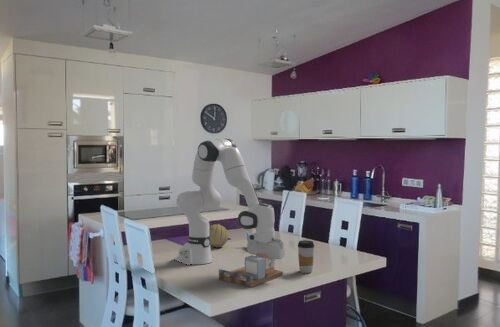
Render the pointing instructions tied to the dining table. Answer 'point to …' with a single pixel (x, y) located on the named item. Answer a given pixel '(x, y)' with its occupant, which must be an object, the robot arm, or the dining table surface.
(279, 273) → the shelf plank
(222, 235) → the cantaloupe
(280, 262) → the dining table surface
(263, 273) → the slate-blue carton
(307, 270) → the coffee cup
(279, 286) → the dining table surface
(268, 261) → the terracotta carton
